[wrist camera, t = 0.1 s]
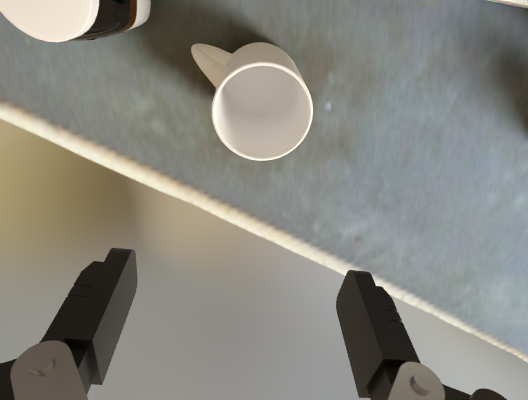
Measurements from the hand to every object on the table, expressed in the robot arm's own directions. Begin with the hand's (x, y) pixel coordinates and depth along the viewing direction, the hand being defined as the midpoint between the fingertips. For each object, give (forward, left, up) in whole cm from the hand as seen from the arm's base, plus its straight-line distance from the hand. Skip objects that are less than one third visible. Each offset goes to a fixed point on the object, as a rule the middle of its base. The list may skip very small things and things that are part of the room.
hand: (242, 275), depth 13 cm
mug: (-1, 0, -29) cm, 29 cm away
